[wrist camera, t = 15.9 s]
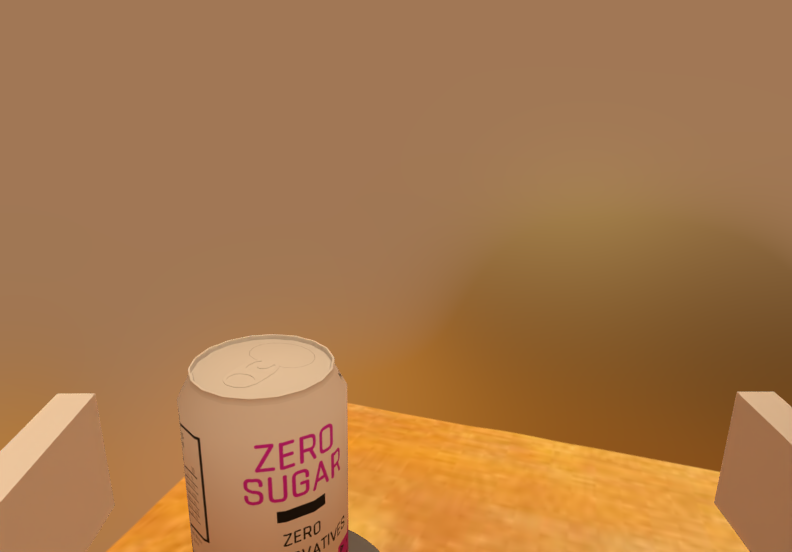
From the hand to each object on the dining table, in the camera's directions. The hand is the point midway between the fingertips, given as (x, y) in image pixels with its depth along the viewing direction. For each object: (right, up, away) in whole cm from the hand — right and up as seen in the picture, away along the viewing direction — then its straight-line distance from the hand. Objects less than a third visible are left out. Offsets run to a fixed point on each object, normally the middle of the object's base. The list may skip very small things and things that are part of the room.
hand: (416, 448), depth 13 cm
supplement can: (-7, -15, +22) cm, 28 cm away
